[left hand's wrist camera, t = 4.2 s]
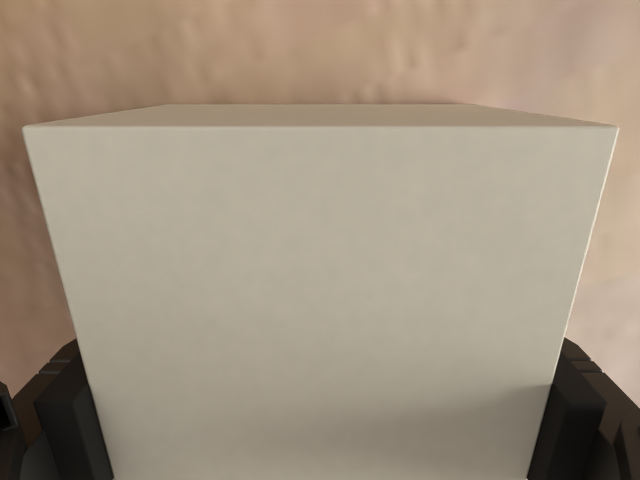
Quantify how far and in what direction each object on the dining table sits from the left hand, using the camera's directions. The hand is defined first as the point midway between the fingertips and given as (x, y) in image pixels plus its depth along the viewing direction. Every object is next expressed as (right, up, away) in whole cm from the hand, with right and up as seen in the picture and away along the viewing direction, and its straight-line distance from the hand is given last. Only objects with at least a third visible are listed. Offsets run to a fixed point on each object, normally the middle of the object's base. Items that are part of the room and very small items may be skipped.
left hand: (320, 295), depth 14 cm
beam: (0, -23, +10) cm, 25 cm away
